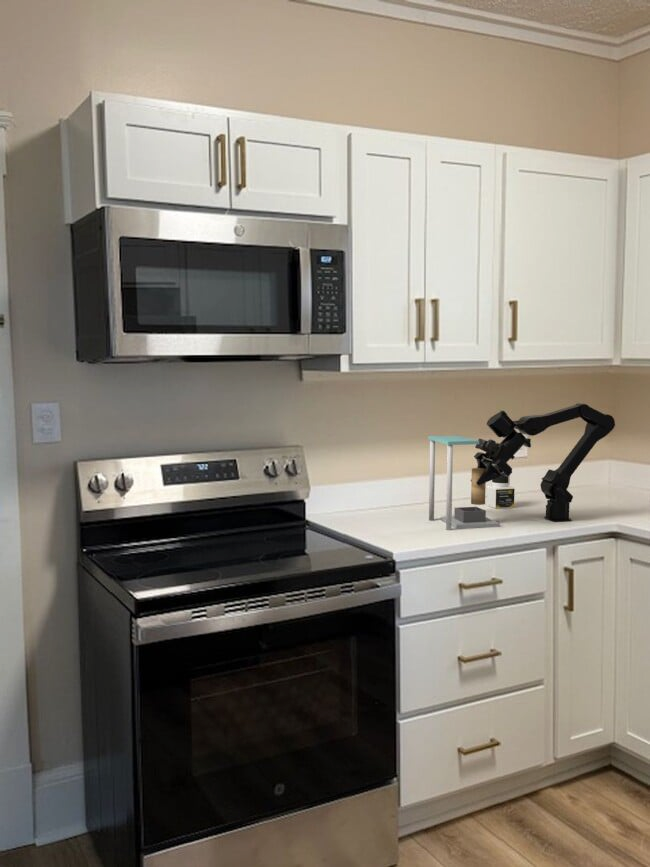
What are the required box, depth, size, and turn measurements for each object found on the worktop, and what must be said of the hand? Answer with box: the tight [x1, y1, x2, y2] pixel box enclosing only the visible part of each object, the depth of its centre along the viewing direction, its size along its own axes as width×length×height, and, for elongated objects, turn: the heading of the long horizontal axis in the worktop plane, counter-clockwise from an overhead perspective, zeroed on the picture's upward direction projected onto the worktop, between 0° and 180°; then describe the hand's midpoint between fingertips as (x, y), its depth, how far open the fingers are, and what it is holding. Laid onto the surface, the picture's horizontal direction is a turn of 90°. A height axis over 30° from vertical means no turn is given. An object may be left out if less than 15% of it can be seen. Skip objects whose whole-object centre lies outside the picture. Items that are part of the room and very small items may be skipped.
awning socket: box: [427, 435, 501, 531], centre depth 272 cm, size 18×17×27 cm
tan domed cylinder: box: [470, 467, 487, 506], centre depth 273 cm, size 4×4×11 cm
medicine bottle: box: [486, 472, 516, 510], centre depth 303 cm, size 7×7×12 cm
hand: (474, 483), depth 273 cm, fingers closed on tan domed cylinder, 4 cm apart
